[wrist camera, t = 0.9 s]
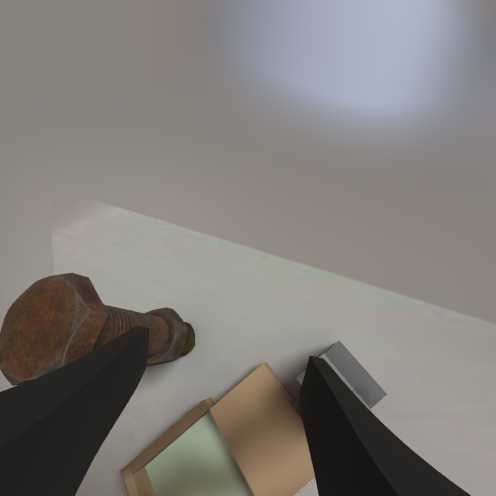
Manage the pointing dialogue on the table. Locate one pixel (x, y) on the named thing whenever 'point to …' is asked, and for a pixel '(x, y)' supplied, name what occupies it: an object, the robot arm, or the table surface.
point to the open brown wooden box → (229, 447)
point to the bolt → (78, 328)
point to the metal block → (352, 375)
